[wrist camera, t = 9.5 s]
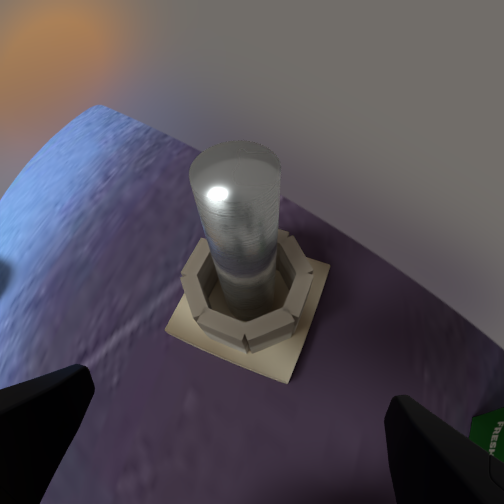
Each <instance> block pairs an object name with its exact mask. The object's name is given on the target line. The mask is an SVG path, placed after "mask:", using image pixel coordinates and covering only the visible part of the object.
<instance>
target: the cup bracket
mask: <svg viewBox="0 0 504 504" xmlns="http://www.w3.org/2000/svg"><path fill="white" fill-rule="evenodd" d="M329 268H330V265H329V264H326V263H323V262H320V261H317V260H314V259H311V258H307V257H306V256H305V255H304V253H303V251H302V249H301V248H300V246H299V244H298V243H297V241H296V239H295V238H294V236H293V235H292V236H290V237H289V232H287V231H283V230H280V229H278V238H277V255H276V272H275V287H274V301H273V306H272V308H271V310H270V311H269V312H268V314H266V315H263V316H261V317H258V318H256V319H253V320H251V321H245V320H241V319H239V318H237V317H235V316H234V315H233V314H232V313H231V312H230V310H229V308H228V306H227V303H226V300H225V297H224V294H223V290H222V287H221V284H220V281H219V278H218V275H217V271H216V268H215V265H214V262H213V259H212V255H211V252H210V249H209V245H208V242H207V239H204V238H201V239H200V241H199V243H198V244H197V246H196V248H195V249H194V251H193V253H192V254H191V256H190V258H189V260H188V261H187V263H186V265H185V266H184V268H183V270H182V272H181V274H182V276H183V277H181V278H180V279H181V282H182V285H183V288H184V292H185V293H184V295H183V297H182V299H181V301H180V302H179V304H178V306H177V308H176V310H175V312H174V313H173V315H172V317H171V319H170V321H169V323H168V325H167V327H166V329H165V331H166V332H167V333H168V334H170V335H172V336H174V337H176V338H178V339H180V340H182V341H184V342H187V343H189V344H191V345H193V346H195V347H197V348H199V349H202V350H204V351H206V352H208V353H211V354H213V355H215V356H217V357H220V358H222V359H224V360H227V361H229V362H231V363H234V364H236V365H239V366H241V367H243V368H246V369H248V370H251V371H254V372H256V373H259V374H261V375H264V376H266V377H269V378H272V379H275V380H277V381H280V382H283V383H286V384H288V382H289V380H290V377H291V375H292V372H293V370H294V367H295V365H296V362H297V360H298V357H299V354H300V352H301V349H302V347H303V344H304V341H305V339H306V336H307V333H308V330H309V328H310V325H311V322H312V319H313V316H314V314H315V311H316V308H317V305H318V302H319V299H320V296H321V293H322V290H323V287H324V284H325V281H326V278H327V275H328V272H329Z"/></svg>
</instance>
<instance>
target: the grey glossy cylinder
mask: <svg viewBox="0 0 504 504" xmlns="http://www.w3.org/2000/svg"><path fill="white" fill-rule="evenodd" d="M280 174H281V166H280V161H279V159H278V157H277V156H276V155H275V154H274V153H273V152H272V151H271V150H270V149H269V148H267V147H265V146H263V145H261V144H257V143H255V142H250V141H229V142H224V143H220V144H217V145H215V146H212V147H210V148H208V149H206V150H205V151H203V152H202V153H201V154H199V155H198V156H197V157H196V159H195V160H194V161H193V163H192V165H191V167H190V170H189V179H190V183H191V187H192V190H193V194H194V197H195V201H196V204H197V208H198V211H199V215H200V218H201V222H202V225H203V229H204V232H205V235H206V239H207V242H208V245H209V249H210V252H211V255H212V259H213V262H214V265H215V268H216V271H217V275H218V278H219V281H220V284H221V287H222V290H223V294H224V297H225V300H226V303H227V306H228V308H229V310H230V312H231V313H232V314H233V315H234V316H235V317H237V318H239V319H241V320H245V321H251V320H253V319H256V318H258V317H261V316H263V315H266V314H268V312H269V311H270V310H271V308H272V306H273V301H274V287H275V272H276V255H277V238H278V219H279V199H280V176H281V175H280Z"/></svg>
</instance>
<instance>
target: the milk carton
mask: <svg viewBox="0 0 504 504" xmlns="http://www.w3.org/2000/svg"><path fill="white" fill-rule="evenodd" d="M469 439H470V440H471V441H473V442H474V443H475V444H477V445H478V446H480V447H481V448H483V449H484V450H486V451H487V452H488V453H489V455H490V454H492V455H493V456H494V457H496V458H497V459H499V460H500V461H502V462H504V407H503V408H500V409H497V410H494V411H492V412H489V413H485V414H482V415H479V416H476V417H473V418H472V424H471V430H470V435H469Z"/></svg>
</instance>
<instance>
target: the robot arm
mask: <svg viewBox="0 0 504 504" xmlns="http://www.w3.org/2000/svg"><path fill="white" fill-rule="evenodd" d="M94 392H95V386H94V383H93V380H92V377H91V374H90V371H89V369H88V368H87V367H86V366H83V365H80V364H74V365H71V366H68V367H66V368H63V369H60V370H57V371H54V372H51V373H49V374H46V375H43V376H40V377H37V378H34V379H31V380H28V381H25V382H22V383H19V384H16V385H13V386H10V387H7V388H4V389H0V504H40V502H41V500H42V498H43V496H44V494H45V492H46V490H47V488H48V486H49V484H50V482H51V480H52V478H53V476H54V474H55V472H56V470H57V468H58V466H59V464H60V462H61V460H62V458H63V457H64V455H65V453H66V451H67V449H68V447H69V445H70V444H71V442H72V440H73V438H74V436H75V435H76V433H77V431H78V429H79V427H80V425H81V422H82V420H83V418H84V415H85V413H86V411H87V408H88V406H89V404H90V402H91V399H92V397H93V395H94ZM384 425H385V433H386V442H387V451H388V461H389V468H390V473H391V477H392V482H393V487H394V492H395V497H396V502H397V504H504V462H502V461H500V460H499V459H497V458H496V457H494V456H493V455H492V454H490V455H489V453H488V452H487V451H486V450H484V449H483V448H481V447H480V446H478V445H477V444H475V443H474V442H473V441H471V440H470V439H468V438H467V437H465V436H464V435H463V434H461V433H460V432H458V431H457V430H455V429H454V428H453V427H451V426H450V425H448V424H447V423H446V422H444V421H443V420H441V419H440V418H439V417H437V416H436V415H434V414H433V413H432V412H430V411H429V410H427V409H426V408H425V407H423V406H422V405H421V404H419V403H418V402H416V401H415V400H414V399H412V398H411V397H410V396H408V395H399V396H394V397H393V398H392V400H391V402H390V405H389V407H388V410H387V412H386V415H385V418H384Z"/></svg>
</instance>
